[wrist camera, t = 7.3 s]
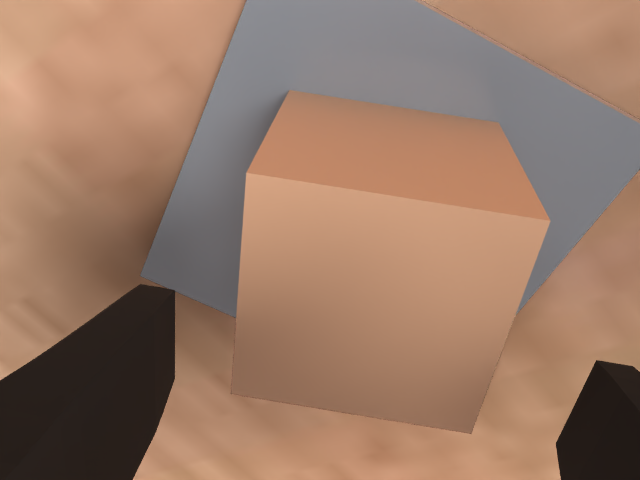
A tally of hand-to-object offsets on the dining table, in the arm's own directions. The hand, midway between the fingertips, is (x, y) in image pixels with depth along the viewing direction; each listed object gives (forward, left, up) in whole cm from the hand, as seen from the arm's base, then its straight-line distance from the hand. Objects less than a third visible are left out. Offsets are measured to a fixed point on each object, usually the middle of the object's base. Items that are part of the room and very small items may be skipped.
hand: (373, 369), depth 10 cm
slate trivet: (0, 0, -7) cm, 7 cm away
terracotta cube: (0, 0, -6) cm, 6 cm away
